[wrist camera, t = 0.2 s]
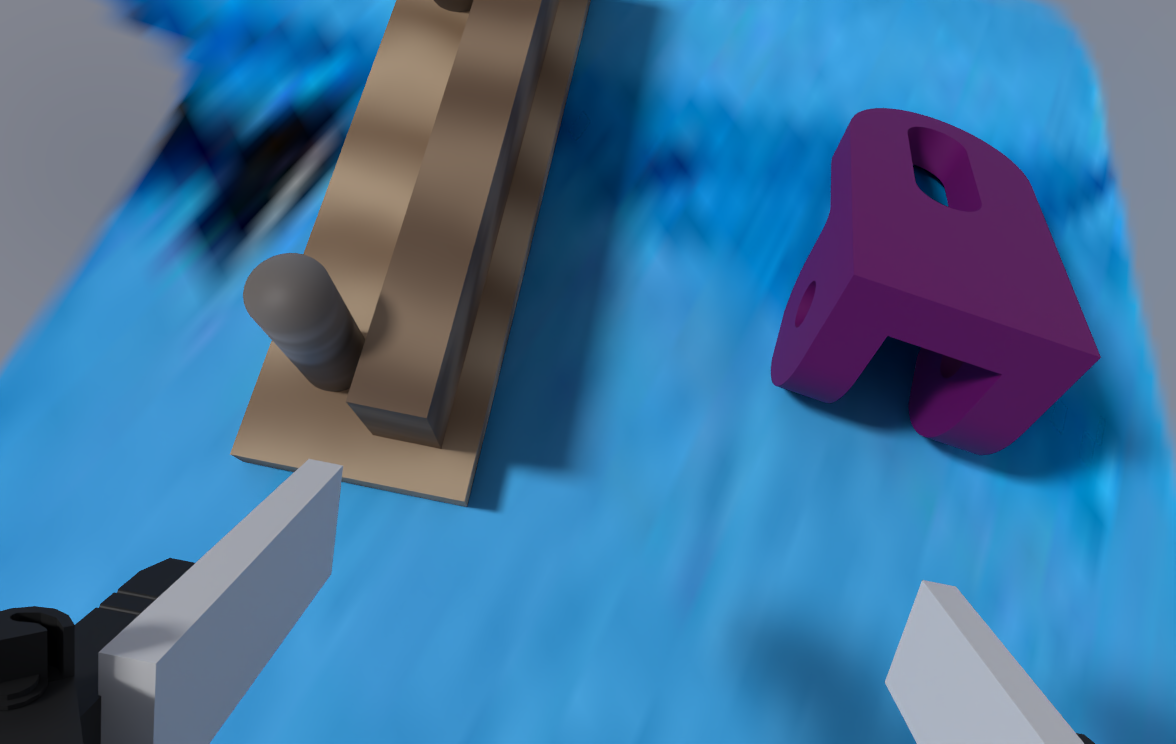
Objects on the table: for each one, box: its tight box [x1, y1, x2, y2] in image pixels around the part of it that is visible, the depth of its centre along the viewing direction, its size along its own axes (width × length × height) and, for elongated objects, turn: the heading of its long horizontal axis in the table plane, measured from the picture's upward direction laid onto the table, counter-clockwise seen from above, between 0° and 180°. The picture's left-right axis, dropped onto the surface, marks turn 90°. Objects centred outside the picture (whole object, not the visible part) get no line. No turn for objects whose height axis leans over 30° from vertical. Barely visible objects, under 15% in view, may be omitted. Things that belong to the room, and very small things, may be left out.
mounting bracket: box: [771, 108, 1101, 455], centre depth 36 cm, size 9×8×18 cm
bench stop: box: [230, 0, 591, 507], centre depth 33 cm, size 32×10×8 cm, turn 169°
